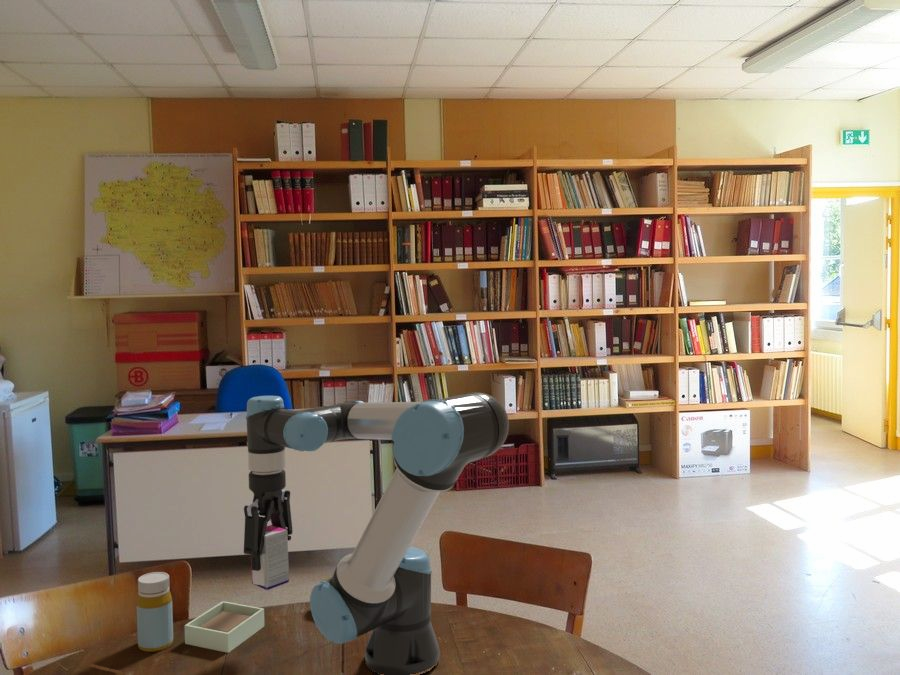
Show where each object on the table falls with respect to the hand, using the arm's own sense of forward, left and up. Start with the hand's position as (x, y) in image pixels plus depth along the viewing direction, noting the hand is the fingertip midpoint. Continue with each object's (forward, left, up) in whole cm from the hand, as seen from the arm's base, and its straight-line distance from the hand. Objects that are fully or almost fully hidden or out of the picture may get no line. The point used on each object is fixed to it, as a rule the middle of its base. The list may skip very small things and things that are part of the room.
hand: (270, 577), depth 166 cm
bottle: (+23, +9, -15) cm, 29 cm away
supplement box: (0, 0, -1) cm, 1 cm away
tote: (+11, 0, -15) cm, 19 cm away
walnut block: (+11, 0, -14) cm, 18 cm away
